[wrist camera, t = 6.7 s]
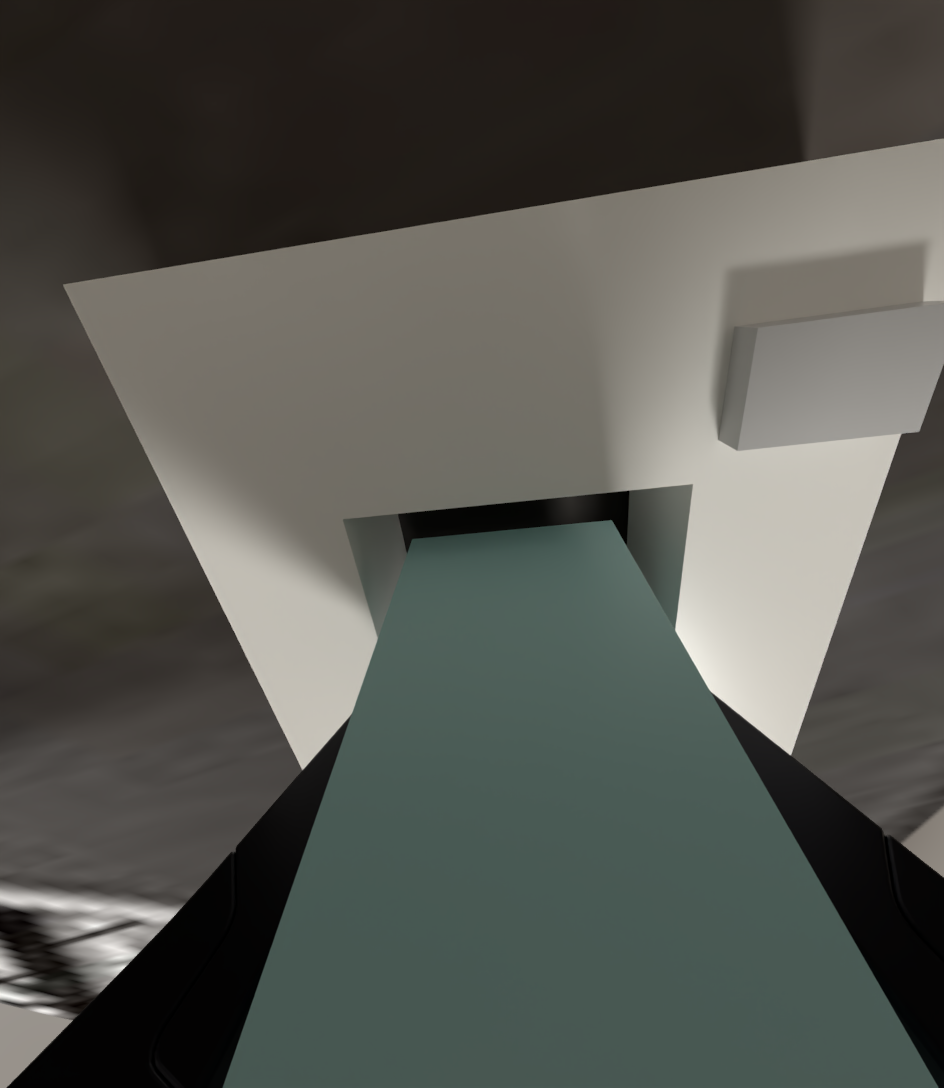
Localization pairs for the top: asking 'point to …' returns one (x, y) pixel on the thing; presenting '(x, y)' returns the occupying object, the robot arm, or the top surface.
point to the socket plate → (549, 407)
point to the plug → (554, 860)
